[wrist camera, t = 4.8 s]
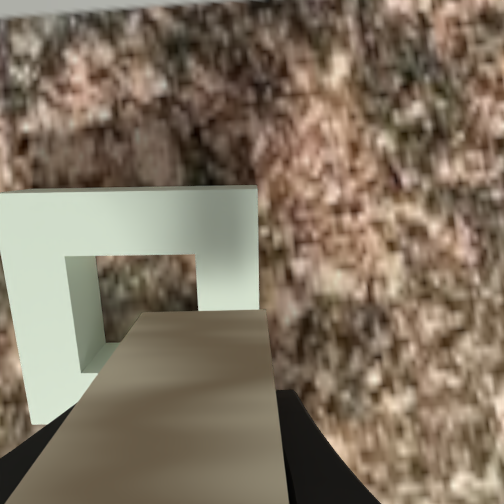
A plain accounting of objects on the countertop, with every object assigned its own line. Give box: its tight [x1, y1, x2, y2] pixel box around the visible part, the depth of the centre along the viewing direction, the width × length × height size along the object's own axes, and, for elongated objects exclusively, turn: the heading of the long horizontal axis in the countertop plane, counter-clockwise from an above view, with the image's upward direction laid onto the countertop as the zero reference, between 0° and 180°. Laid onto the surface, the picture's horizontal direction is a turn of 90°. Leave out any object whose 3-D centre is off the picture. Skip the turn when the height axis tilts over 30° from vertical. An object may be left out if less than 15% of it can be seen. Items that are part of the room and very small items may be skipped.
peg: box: [5, 309, 289, 504], centre depth 8 cm, size 4×4×8 cm
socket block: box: [0, 185, 259, 425], centre depth 18 cm, size 11×11×3 cm
